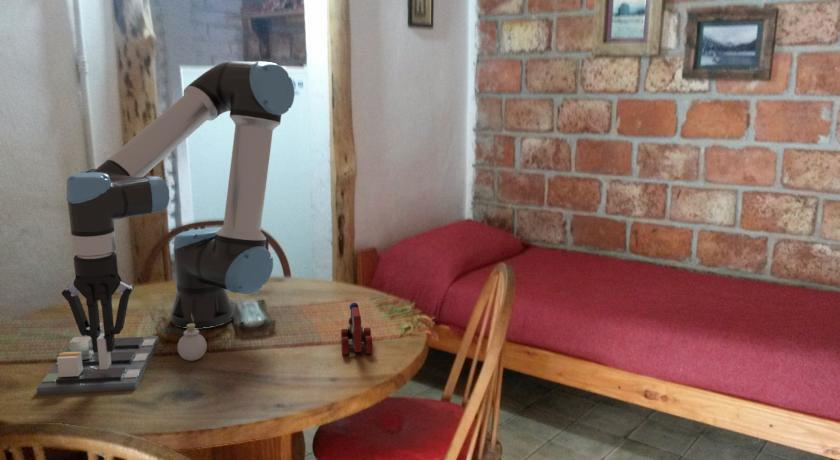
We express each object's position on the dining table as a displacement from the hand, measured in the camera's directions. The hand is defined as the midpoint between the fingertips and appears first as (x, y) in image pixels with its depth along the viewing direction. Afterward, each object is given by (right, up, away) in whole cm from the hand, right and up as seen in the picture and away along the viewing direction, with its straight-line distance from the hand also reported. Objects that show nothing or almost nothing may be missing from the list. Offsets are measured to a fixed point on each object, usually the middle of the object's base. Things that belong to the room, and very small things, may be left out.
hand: (105, 366), depth 136 cm
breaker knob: (-6, -1, -1) cm, 7 cm away
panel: (-4, -2, +8) cm, 9 cm away
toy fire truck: (+49, 0, +20) cm, 53 cm away
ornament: (+13, -1, +13) cm, 19 cm away
